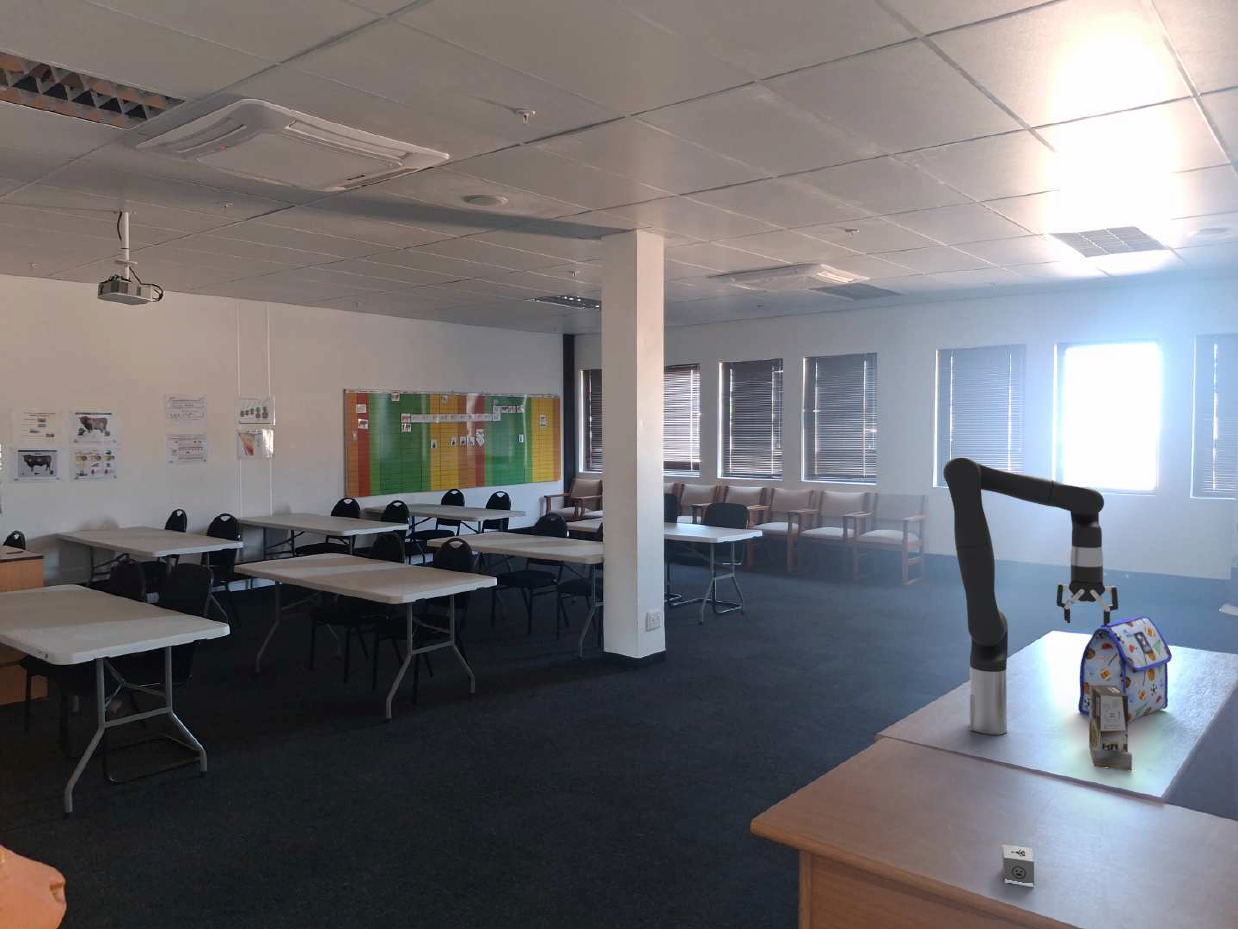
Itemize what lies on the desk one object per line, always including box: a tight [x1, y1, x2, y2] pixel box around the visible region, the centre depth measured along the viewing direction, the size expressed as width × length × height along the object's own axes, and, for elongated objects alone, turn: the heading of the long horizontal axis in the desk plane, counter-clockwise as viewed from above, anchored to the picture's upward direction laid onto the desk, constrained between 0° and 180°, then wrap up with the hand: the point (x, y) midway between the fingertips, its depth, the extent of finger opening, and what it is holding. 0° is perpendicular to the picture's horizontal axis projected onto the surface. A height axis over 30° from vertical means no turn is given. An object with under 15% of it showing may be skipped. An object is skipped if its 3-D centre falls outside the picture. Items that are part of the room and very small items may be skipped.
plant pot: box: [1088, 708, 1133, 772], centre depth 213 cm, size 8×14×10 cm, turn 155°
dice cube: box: [1002, 844, 1035, 885], centre depth 160 cm, size 5×5×5 cm
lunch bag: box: [1077, 615, 1173, 723], centre depth 244 cm, size 23×17×27 cm
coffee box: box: [1089, 685, 1129, 752], centre depth 213 cm, size 9×6×16 cm
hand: (1086, 623), depth 227 cm, fingers open, 8 cm apart
